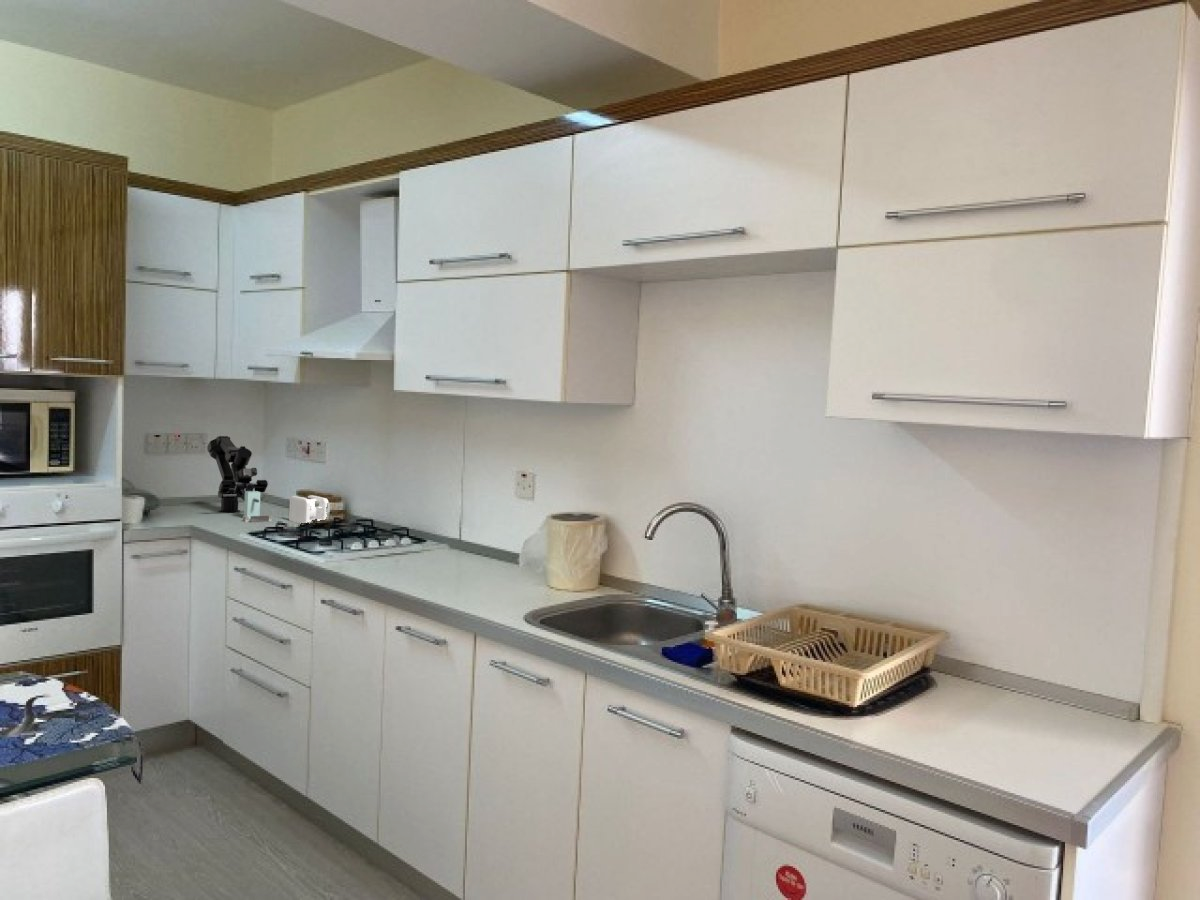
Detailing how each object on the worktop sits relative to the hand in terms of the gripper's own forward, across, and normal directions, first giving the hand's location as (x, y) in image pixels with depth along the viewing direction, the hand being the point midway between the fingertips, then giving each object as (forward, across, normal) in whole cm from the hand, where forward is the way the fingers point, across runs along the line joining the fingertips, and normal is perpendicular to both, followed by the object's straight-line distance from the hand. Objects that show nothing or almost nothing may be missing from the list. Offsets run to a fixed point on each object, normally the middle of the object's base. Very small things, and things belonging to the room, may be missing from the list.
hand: (247, 502), depth 367 cm
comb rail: (+11, 0, -1) cm, 11 cm away
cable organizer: (+20, +18, -10) cm, 29 cm away
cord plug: (+11, 0, -2) cm, 11 cm away
